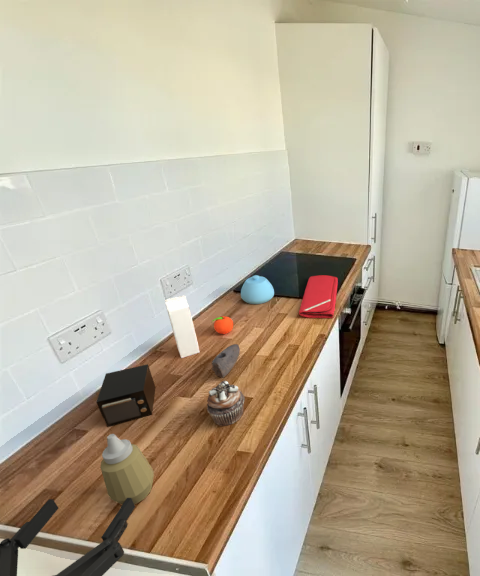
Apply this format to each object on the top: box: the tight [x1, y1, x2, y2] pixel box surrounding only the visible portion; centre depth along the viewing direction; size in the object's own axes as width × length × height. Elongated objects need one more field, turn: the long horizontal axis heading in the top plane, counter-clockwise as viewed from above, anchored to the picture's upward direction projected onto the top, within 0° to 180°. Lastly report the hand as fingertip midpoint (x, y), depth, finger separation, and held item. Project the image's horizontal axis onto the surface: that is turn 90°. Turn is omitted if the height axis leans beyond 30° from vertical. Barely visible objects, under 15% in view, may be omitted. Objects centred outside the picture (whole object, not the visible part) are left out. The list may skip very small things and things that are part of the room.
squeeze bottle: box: [100, 433, 155, 506], centre depth 68 cm, size 8×8×18 cm
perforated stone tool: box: [211, 343, 241, 379], centre depth 109 cm, size 15×5×7 cm, turn 175°
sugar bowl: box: [240, 274, 275, 305], centre depth 153 cm, size 15×15×12 cm
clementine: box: [212, 315, 234, 335], centre depth 127 cm, size 8×7×7 cm
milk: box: [164, 295, 201, 359], centre depth 112 cm, size 6×6×22 cm
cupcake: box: [206, 380, 246, 427], centre depth 90 cm, size 10×10×10 cm
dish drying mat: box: [298, 274, 339, 319], centre depth 159 cm, size 16×41×4 cm, turn 5°
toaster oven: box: [95, 364, 157, 428], centre depth 91 cm, size 10×13×9 cm
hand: (93, 502), depth 60 cm, fingers open, 13 cm apart
